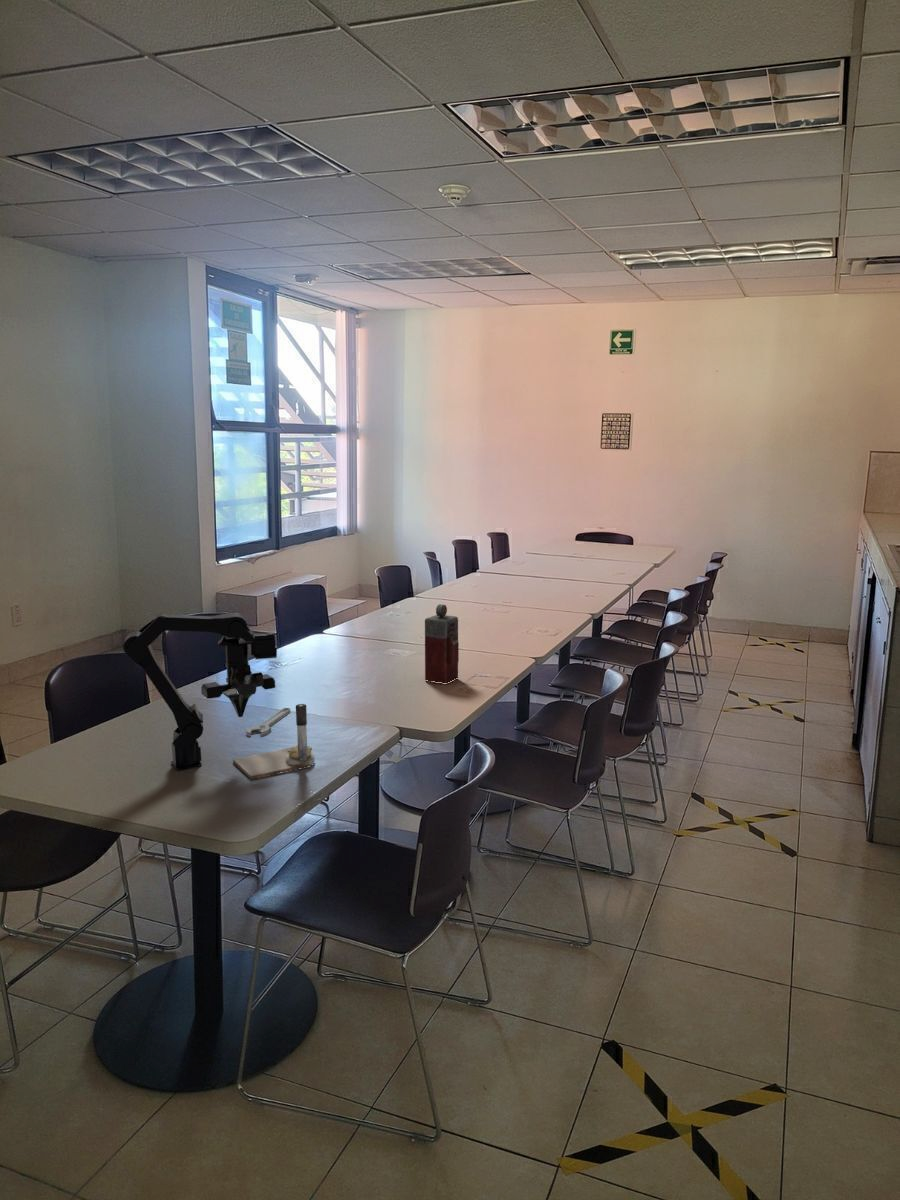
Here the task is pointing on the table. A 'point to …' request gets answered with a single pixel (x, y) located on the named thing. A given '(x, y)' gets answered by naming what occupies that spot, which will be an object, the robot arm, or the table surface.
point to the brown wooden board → (270, 763)
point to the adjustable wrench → (268, 723)
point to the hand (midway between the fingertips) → (240, 716)
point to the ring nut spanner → (301, 735)
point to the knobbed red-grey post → (441, 646)
